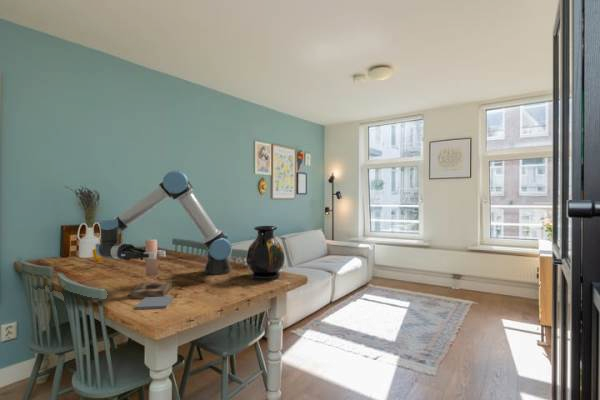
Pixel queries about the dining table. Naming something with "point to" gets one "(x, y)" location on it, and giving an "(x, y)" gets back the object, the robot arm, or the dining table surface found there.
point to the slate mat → (154, 302)
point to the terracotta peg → (151, 263)
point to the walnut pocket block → (151, 290)
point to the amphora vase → (265, 255)
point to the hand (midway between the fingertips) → (160, 254)
